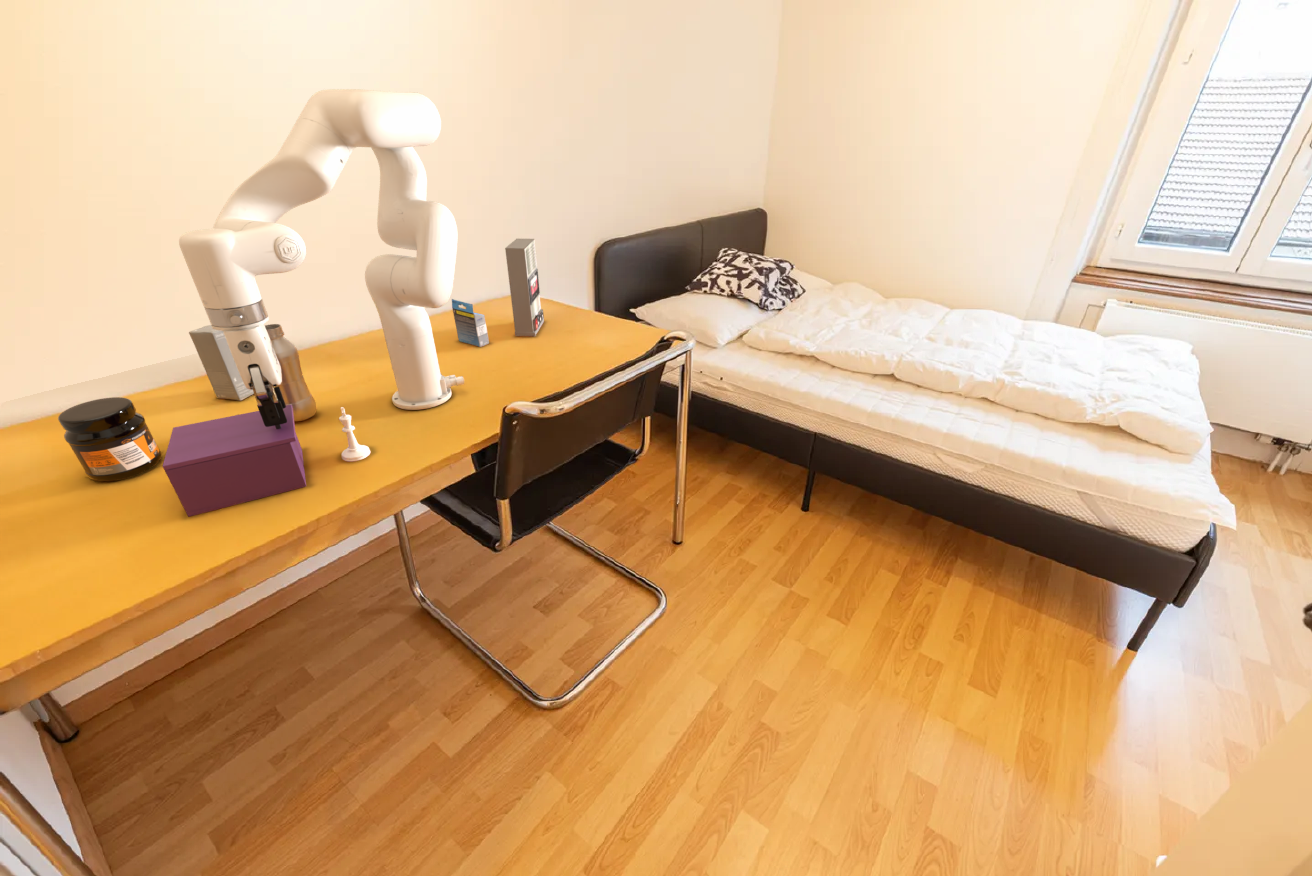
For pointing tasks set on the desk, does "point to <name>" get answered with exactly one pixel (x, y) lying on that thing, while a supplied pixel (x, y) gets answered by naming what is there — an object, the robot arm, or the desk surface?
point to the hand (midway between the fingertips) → (275, 415)
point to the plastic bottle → (291, 375)
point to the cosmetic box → (219, 363)
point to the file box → (238, 478)
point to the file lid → (225, 438)
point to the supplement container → (110, 439)
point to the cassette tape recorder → (524, 287)
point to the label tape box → (469, 324)
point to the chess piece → (352, 441)
